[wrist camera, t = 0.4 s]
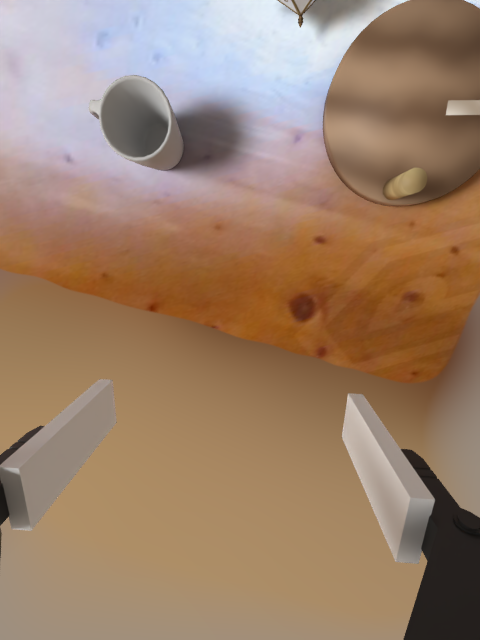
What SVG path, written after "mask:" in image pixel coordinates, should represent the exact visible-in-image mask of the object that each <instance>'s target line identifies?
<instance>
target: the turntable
mask: <svg viewBox="0 0 480 640" xmlns="http://www.w3.org/2000/svg"><path fill="white" fill-rule="evenodd" d="M323 135H324V143H325V147H326V152H327V155H328V157H329V160H330V163H331V165H332V167H333V168H334V170H335V172H336V174H337V175H338V176H339V178H340V179H341V181H342V182H343V183H344V184H345V185H346V186H347V187H348V188H349V189H350V190H352V191H353V192H354V193H355V194H357V195H358V196H360V197H362V198H364V199H366V200H368V201H371V202H373V203H376V204H381V205H385V206H408V205H413V204H418V203H422V202H426V201H429V200H432V199H435V198H438V197H440V196H443V195H445V194H447V193H449V192H451V191H452V190H454V189H456V188H457V187H459V186H460V185H462V184H463V183H464V182H466V181H467V180H468V179H470V178H471V177H472V176H473V175H474V174H475V173H476V172H477V171H478V170H479V169H480V9H479V8H478V7H476V6H475V5H473V4H471V3H468V2H466V1H464V0H409V1H407V2H404V3H402V4H399V5H397V6H395V7H393V8H391V9H390V10H388V11H386V12H384V13H383V14H382V15H380V16H379V17H378V18H376V19H375V20H374V21H372V22H371V23H370V24H369V25H368V26H367V27H366V28H365V29H364V30H363V31H362V32H361V33H360V34H359V35H358V37H357V38H356V39H355V40H354V41H353V43H352V44H351V46H350V47H349V49H348V50H347V52H346V53H345V55H344V56H343V58H342V60H341V62H340V64H339V66H338V68H337V70H336V73H335V75H334V77H333V79H332V82H331V85H330V87H329V90H328V94H327V97H326V101H325V107H324V114H323Z"/></svg>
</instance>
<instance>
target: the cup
mask: <svg viewBox="0 0 480 640" xmlns="http://www.w3.org/2000/svg"><path fill="white" fill-rule="evenodd" d="M89 111H90V113H91V114H92V115H94V116H95V117H96V118H97V119H99V120H100V127H101V130H102V133H103V136H104V138H105V140H106V141H107V143H108V144H109V146H110V147H111V148H112V149H113V150H114V151H115V152H116V153H117V154H118V155H120V156H122V157H124V158H125V159H127V160H130V161H133V162H135V163H138V164H140V165H143V166H147V167H150V168H154V169H157V170H169V169H171V168H173V167H174V166H176V165H177V164H178V162H179V161H180V160H181V157H182V155H183V149H184V146H183V139H182V136H181V133H180V130H179V127H178V124H177V120H176V118H175V115H174V113H173V110H172V108H171V105H170V103H169V100H168V99H167V97H166V95H165V94H164V92H163V90H162V89H161V88H160V87H159V86H158V85H157V84H156V83H154V82H153V81H151V80H149V79H147V78H146V77H141V76H137V75H132V76H124V77H122V78H120V79H117V80H116V81H114V82H113V83H112V84H111V85H110V86H109V87H108V88H107V90H106V91H105V93H104V95H103V97H102V99H100V100H98V101H96V100H91V101H90V103H89Z"/></svg>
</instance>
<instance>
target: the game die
mask: <svg viewBox="0 0 480 640" xmlns="http://www.w3.org/2000/svg"><path fill="white" fill-rule="evenodd" d="M278 1H279V2H281V3H282V4H283V5H285V6H286V7H288V8H289V9H291V10H292V11H293V12H295V13H296V14H298V15H299V19H298V23H299V26H300V27H301V25H302V23H303V17H302V15H303V14H304V13H305V12H306V10H307V9H308V8H309V7H310V6H311V5H312V4H313V3H314V2H315V1H316V0H278Z"/></svg>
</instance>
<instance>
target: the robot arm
mask: <svg viewBox="0 0 480 640" xmlns="http://www.w3.org/2000/svg"><path fill="white" fill-rule="evenodd" d="M115 424H116V413H115V402H114V391H113V380H104V379H103V380H102V379H99V380H98V381H97V382H96V383H94V384H93V385H92V386H91V387H90V388H89V389H87V390H86V391H85V392H84V393H83V394H82V395H81V396H79V397H78V398H77V399H76V400H75V401H74V402H72V403H71V404H70V405H69V406H68V407H67V408H65V409H64V410H63V411H62V412H61V413H60V414H58V415H57V416H56V417H55V418H54V419H53V420H52V421H51V422H49V423H48V424H47V425H46V426H39V427H37V428H36V429H33V430H32V431H30V432H28V433H26V434H25V435H24V436H23V437H22V438H20V439H19V440H18V442H16V443H15V444H13V445H12V446H11V447H10V448H9V449H7V450H6V451H5V452H3V453H2V454H1V455H0V525H1V524H2V523H3V522H4V521H5V520H6V519H7V518H8V517H9V519H10V524H11V528H12V529H19V530H30V531H32V529H33V528H34V527H35V525H36V524H37V523H38V522H39V520H40V519H41V518H42V517H43V515H44V514H45V513H46V511H47V510H48V509H49V508H50V506H51V505H52V504H53V502H54V501H55V500H56V499H57V497H58V496H59V495H60V494H61V492H62V491H63V490H64V488H65V487H66V486H67V485H68V483H69V482H70V481H71V480H72V478H73V477H74V476H75V475H76V473H77V472H78V471H79V469H80V468H81V467H82V465H83V464H84V463H85V462H86V461H87V459H88V458H89V457H90V455H91V454H92V453H93V452H94V450H95V449H96V448H97V447H98V445H99V444H100V443H101V441H102V440H103V439H104V438H105V436H106V435H107V434H108V433H109V431H110V430H111V429H112V427H113V426H114V425H115ZM342 438H343V441H344V443H345V445H346V448H347V450H348V452H349V455H350V457H351V459H352V462H353V464H354V466H355V469H356V471H357V473H358V476H359V478H360V480H361V482H362V485H363V487H364V489H365V492H366V494H367V496H368V499H369V501H370V503H371V505H372V508H373V510H374V513H375V515H376V517H377V520H378V522H379V524H380V527H381V529H382V531H383V533H384V536H385V538H386V540H387V543H388V545H389V547H390V550H391V552H392V554H393V556H394V559H395V561H396V562H405V563H417V564H418V563H419V560H420V556H421V552H422V551H423V553H424V555H425V557H426V559H427V561H428V562H427V565H426V568H425V572H424V575H423V578H422V581H421V585H420V588H419V591H418V594H417V598H416V601H415V604H414V608H413V611H412V614H411V617H410V620H409V624H408V627H407V630H406V633H405V636H404V640H480V518H479V517H477V516H475V515H474V514H473V513H471V512H469V511H467V510H464V509H462V508H460V507H459V505H458V504H457V503H456V502H455V500H454V499H453V497H452V496H451V495H450V494H449V492H448V491H447V490H446V488H445V487H444V486H443V485H442V483H441V482H440V480H439V479H437V477H436V475H435V474H434V473H433V471H431V470H430V467H429V466H428V465H427V463H426V462H425V461H424V459H423V458H421V457H420V456H419V455H418V454H416V453H415V452H414V451H412V450H407V449H400V448H399V447H398V445H397V444H396V442H395V441H394V440H393V438H392V437H391V435H390V434H389V432H388V431H387V429H386V428H385V426H384V425H383V423H382V422H381V420H380V419H379V418H378V416H377V415H376V413H375V412H374V410H373V409H372V407H371V406H370V405H369V403H368V402H367V400H366V399H365V397H364V396H363V395H362V394H348V399H347V406H346V413H345V420H344V427H343V434H342ZM0 556H1V529H0Z"/></svg>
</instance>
